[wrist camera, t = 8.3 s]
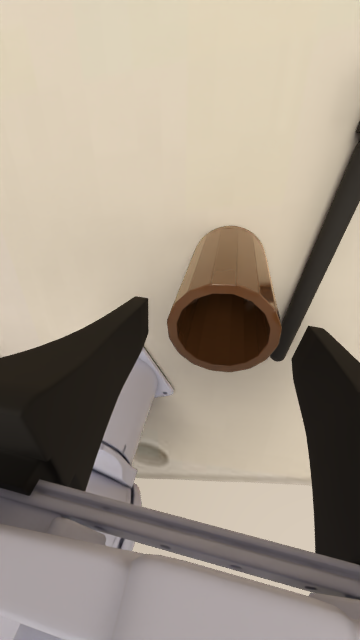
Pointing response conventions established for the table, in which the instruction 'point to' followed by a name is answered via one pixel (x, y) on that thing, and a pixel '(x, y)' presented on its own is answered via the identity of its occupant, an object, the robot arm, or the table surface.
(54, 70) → the table surface
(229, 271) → the pen cup
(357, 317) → the table surface
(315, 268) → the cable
